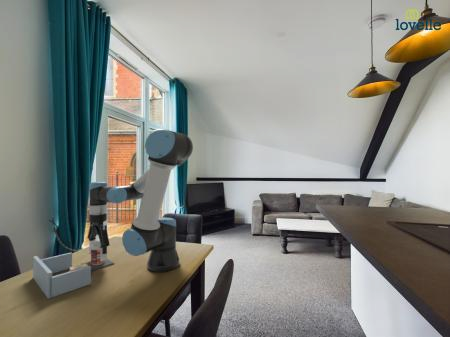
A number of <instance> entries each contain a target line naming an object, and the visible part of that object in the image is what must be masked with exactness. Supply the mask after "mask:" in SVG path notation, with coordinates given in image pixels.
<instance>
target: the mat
mask: <svg viewBox="0 0 450 337" xmlns="http://www.w3.org/2000/svg"><path fill="white" fill-rule="evenodd" d="M82 264H87V265H88V266H91V272H94V271H96V270H100V269H102V268H106V267H109V266H113V265H115V262H114V261H111V260H110V259H109V258H107V260H105V263H103V264H101V265H91V260H89V261H86V262H83V263H80V265H82Z"/></svg>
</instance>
